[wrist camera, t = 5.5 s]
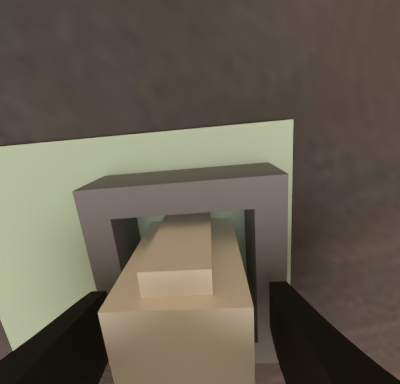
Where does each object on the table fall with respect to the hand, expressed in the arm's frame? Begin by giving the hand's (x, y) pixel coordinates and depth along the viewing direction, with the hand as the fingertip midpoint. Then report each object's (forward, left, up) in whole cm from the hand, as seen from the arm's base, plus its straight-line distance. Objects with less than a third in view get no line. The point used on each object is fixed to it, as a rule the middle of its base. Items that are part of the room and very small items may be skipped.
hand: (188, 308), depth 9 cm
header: (0, +4, -4) cm, 6 cm away
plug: (0, 0, -4) cm, 4 cm away
